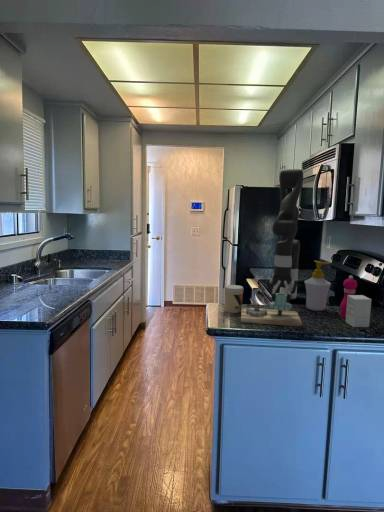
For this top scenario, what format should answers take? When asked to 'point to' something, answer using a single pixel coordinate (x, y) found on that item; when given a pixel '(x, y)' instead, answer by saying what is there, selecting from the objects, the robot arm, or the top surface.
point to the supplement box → (358, 310)
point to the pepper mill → (347, 293)
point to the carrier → (270, 316)
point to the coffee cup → (233, 298)
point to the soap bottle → (317, 289)
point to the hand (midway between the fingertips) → (280, 301)
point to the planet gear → (280, 302)
